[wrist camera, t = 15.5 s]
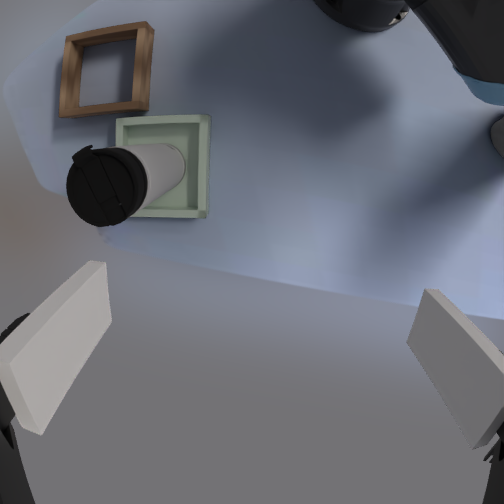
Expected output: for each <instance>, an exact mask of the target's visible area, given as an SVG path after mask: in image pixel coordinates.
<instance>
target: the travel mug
mask: <svg viewBox="0 0 504 504" xmlns="http://www.w3.org/2000/svg"><path fill="white" fill-rule="evenodd" d="M92 147H93V146H92V145H89V146H87V147H85V148H83V149H81V150H80V151H78V152H77V153H75V154H74V155H73V156H72V159H73V161H74V163H73V164H72V166H71V168H70V170H69V173H68V176H67V182H66V189H67V196H68V200H69V202H70V204H71V206H72V208H73V209H74V211H75V213H77V215H78V216H79V217H80V218H81V219H83V220H84V221H85V222H87V223H89V224H91V225H94V226H98V227H104V226H109V225H112V226H114V225H116V224H119V223H121V222H123V221H124V220H126V219H127V218H129V217H131V216H132V215H134V214H136V213H137V212H138V211H140V210H141V209H143V208H144V207H146V206H147V205H149V204H150V203H151V202H153V201H154V200H156V199H157V198H159V197H160V196H162V195H163V194H165V193H166V192H168V191H169V190H171V189H172V188H174V187H175V186H177V185H178V184H179V183H180V182H181V180H182V179H183V177H184V175H185V171H186V162H185V159H184V156H183V154H182V153H181V151H180V150H179V149H178V148H176V147H175V146H173V145H171V144H167V143H158V144H141V145H127V146H115V147H108V148H103V149H93V150H91V149H90V148H92Z"/></svg>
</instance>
